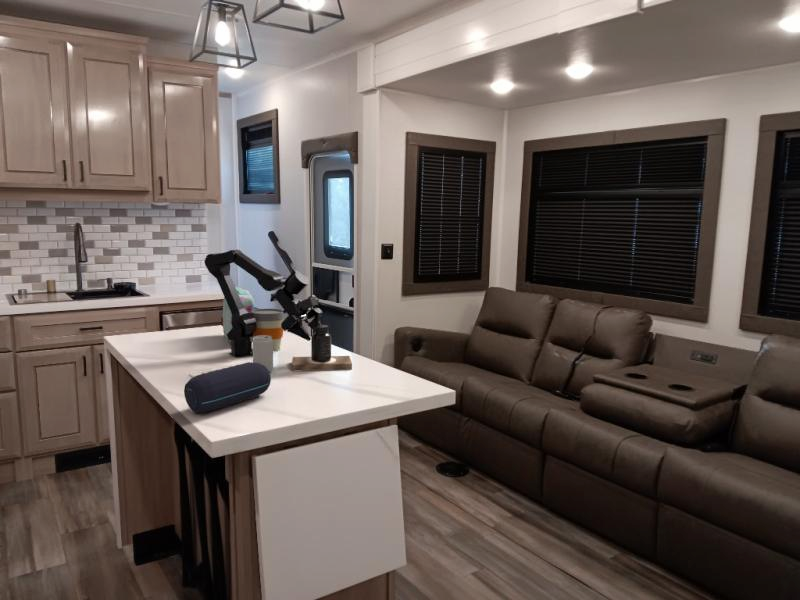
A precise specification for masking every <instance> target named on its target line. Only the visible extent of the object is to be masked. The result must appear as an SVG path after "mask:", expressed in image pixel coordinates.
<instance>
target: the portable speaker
mask: <svg viewBox="0 0 800 600" xmlns="http://www.w3.org/2000/svg"><path fill="white" fill-rule="evenodd" d="M227 367H228V368H224V367H222V368H223V369H220V370H216V371H212V372H208V373H203V374H201V375H197V376H195V377H191V378H190V379H189V380H188V381H187V382H186V383H185V384H184V389H183V392H184V398H185V399H184V400H185V401H186V403H187V406H188V408H190V410H191V411H192V412H193V413H197V414H204V412H205V413H209V412H213V411H215V410H219V409H221V408H225V407H228V406H230V405H234V404H237V403H240V402H243V401H246V400H249V399H253V398H256V397H259V396H260V395H262V394H264V393H265V392H266V391H268V389H269V387H270V385H271V382H272V377H271V373H270V372H269V370H268V369H267V368H266V366H264V365H262V364H260V363H254V362H253V361H249V362H244V363H240V364H236V365H233V366H232V365H230V366H227Z"/></svg>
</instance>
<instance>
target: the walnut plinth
mask: <svg viewBox="0 0 800 600" xmlns="http://www.w3.org/2000/svg"><path fill="white" fill-rule="evenodd" d="M291 362H292V363H291V371H292V370H301V371H332V370H333V371H337V370H339V371H340V370H353V363H352V360H351V356H350V355H331V360H330V361H327V362H314V361H312V359H311V356H292V361H291Z"/></svg>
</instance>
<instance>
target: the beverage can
mask: <svg viewBox="0 0 800 600" xmlns="http://www.w3.org/2000/svg"><path fill="white" fill-rule="evenodd" d="M252 354H253V355H252V362H254V363H260V364H262V365H264V366H266V368H267V369H268V370H269V372H270V374H271V373H272V372H273V371H274V352H273V340H272V337H271V336H269V335H259V336H255V337H254V340H253V342H252Z"/></svg>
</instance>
